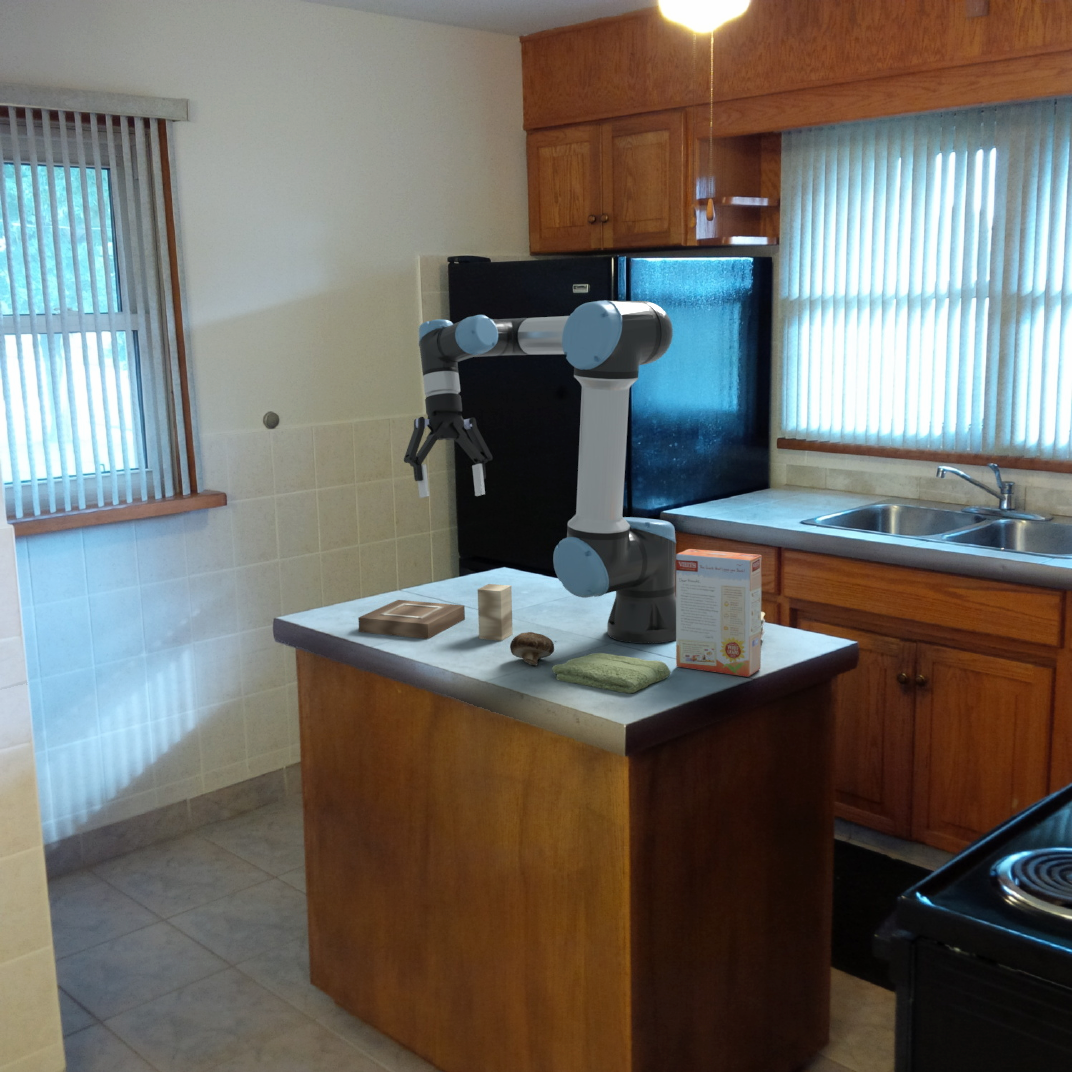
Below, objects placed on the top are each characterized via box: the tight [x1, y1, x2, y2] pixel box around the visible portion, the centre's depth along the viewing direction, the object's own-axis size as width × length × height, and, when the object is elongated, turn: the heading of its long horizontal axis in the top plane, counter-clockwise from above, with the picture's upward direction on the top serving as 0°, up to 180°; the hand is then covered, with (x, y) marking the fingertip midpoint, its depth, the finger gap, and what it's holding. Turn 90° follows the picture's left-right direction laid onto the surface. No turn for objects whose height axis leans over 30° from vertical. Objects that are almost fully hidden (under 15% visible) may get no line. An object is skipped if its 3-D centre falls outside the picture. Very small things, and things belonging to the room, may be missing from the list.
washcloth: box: [551, 652, 671, 694], centre depth 201 cm, size 13×18×3 cm
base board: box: [357, 599, 466, 640], centre depth 238 cm, size 16×16×3 cm
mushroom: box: [509, 631, 555, 666], centre depth 211 cm, size 8×8×6 cm
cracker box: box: [675, 548, 762, 678], centre depth 203 cm, size 14×6×21 cm, turn 58°
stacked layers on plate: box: [761, 611, 766, 639], centre depth 221 cm, size 10×9×6 cm
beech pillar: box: [477, 583, 514, 642], centre depth 228 cm, size 5×5×10 cm
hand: (452, 496), depth 240 cm, fingers open, 13 cm apart
